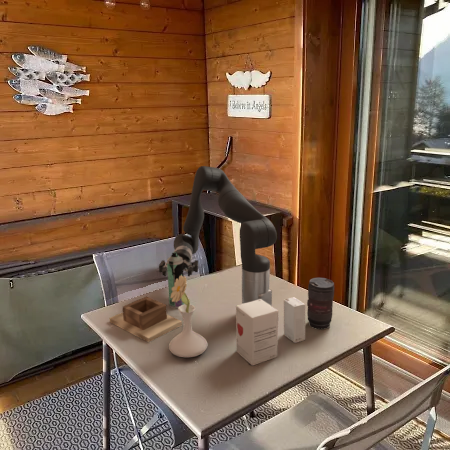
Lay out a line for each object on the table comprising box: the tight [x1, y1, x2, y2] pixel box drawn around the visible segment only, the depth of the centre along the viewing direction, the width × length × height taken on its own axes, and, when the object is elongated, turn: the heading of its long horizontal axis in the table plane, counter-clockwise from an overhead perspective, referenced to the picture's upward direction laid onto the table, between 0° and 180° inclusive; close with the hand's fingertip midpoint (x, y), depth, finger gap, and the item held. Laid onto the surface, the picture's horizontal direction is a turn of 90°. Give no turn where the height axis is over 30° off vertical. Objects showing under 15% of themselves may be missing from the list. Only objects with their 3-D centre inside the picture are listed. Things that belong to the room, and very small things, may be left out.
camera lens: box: [306, 277, 335, 330], centre depth 150 cm, size 8×8×15 cm
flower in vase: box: [168, 275, 208, 358], centre depth 134 cm, size 13×11×25 cm
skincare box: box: [283, 296, 306, 344], centre depth 144 cm, size 6×4×12 cm
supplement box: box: [235, 299, 279, 366], centre depth 134 cm, size 9×9×15 cm
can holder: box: [109, 296, 183, 343], centre depth 154 cm, size 20×14×6 cm
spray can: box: [166, 251, 185, 310], centre depth 165 cm, size 6×6×20 cm
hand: (176, 273), depth 167 cm, fingers open, 8 cm apart
